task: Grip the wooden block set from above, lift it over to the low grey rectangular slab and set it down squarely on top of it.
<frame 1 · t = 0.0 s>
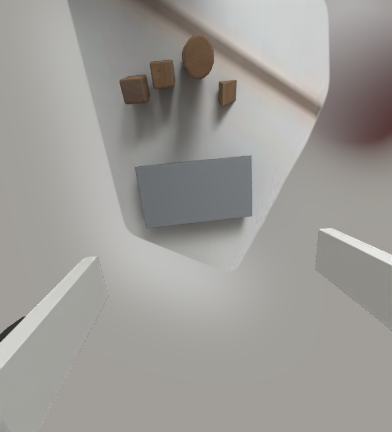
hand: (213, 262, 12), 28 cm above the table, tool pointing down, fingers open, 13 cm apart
wooden block set: (182, 82, 33), on the table
grey rectangular slab: (195, 189, 38), on the table
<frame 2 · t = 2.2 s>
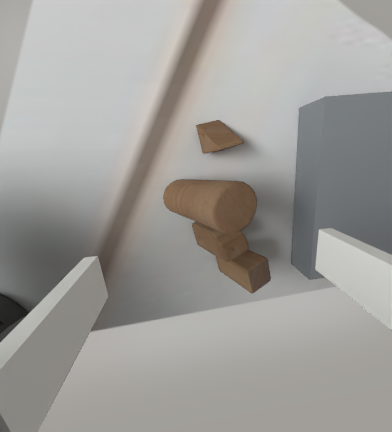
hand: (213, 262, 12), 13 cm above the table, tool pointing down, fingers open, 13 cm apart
wooden block set: (208, 204, 25), on the table
grey rectangular slab: (335, 189, 25), on the table
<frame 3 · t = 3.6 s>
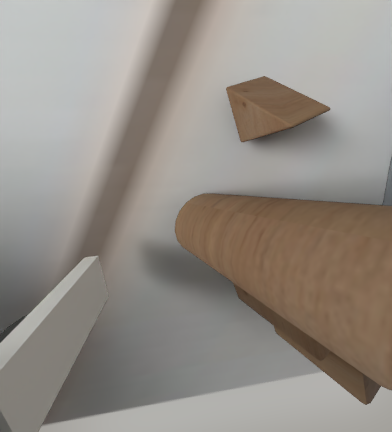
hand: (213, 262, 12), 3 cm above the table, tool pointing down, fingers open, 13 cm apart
wooden block set: (250, 229, 15), on the table, touching gripper
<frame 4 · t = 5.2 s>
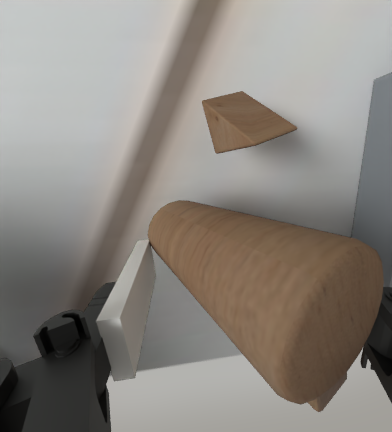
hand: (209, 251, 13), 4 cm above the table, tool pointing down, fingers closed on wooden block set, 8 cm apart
wooden block set: (225, 237, 15), point 2 cm above the table, touching gripper
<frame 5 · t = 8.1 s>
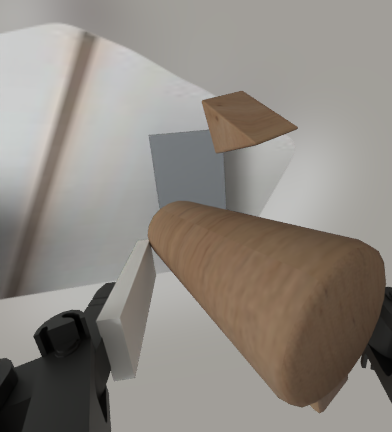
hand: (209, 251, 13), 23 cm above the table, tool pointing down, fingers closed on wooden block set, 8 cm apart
wooden block set: (225, 237, 15), point 21 cm above the table, touching gripper
grey rectangular slab: (190, 193, 35), on the table
when the fingers open (7 cm above the table, at t = 11.1 s): wooden block set stays where it is, resting on grey rectangular slab.
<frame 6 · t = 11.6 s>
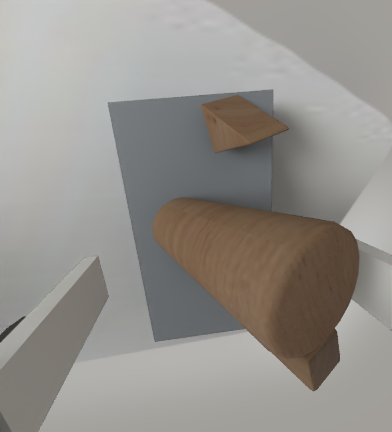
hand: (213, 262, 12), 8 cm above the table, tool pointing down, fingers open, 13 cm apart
wooden block set: (224, 231, 16), point 4 cm above the table, touching grey rectangular slab
grey rectangular slab: (199, 221, 19), on the table
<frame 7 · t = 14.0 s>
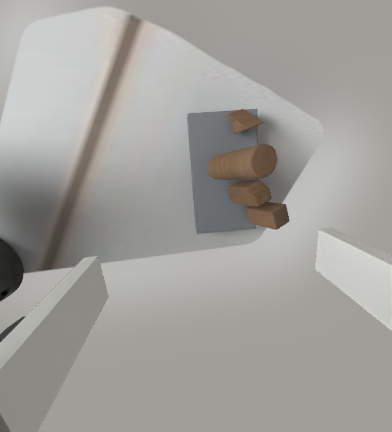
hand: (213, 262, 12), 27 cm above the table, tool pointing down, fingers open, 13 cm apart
wooden block set: (237, 173, 33), point 4 cm above the table, touching grey rectangular slab
grey rectangular slab: (220, 174, 37), on the table
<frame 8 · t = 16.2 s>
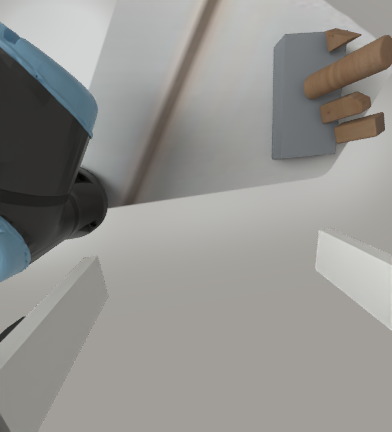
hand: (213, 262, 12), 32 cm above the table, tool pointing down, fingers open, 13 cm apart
wooden block set: (325, 95, 35), point 4 cm above the table, touching grey rectangular slab
grey rectangular slab: (299, 105, 39), on the table
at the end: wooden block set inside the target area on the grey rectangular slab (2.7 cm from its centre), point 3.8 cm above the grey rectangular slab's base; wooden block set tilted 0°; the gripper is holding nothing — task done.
